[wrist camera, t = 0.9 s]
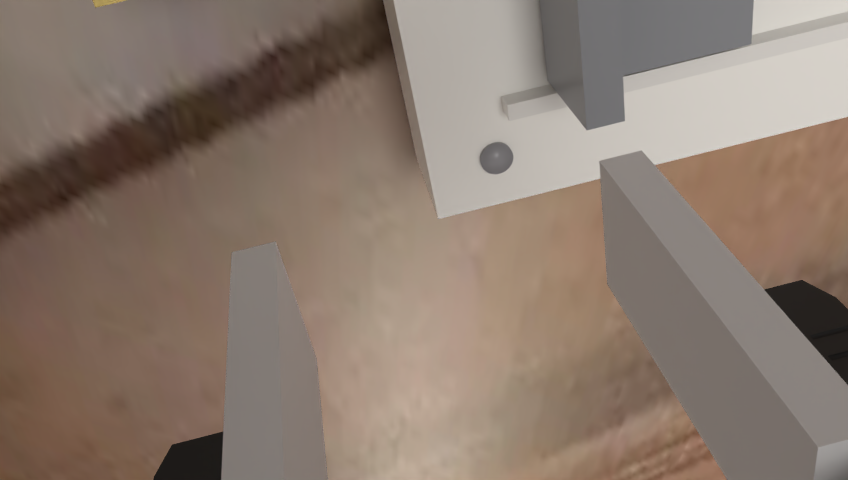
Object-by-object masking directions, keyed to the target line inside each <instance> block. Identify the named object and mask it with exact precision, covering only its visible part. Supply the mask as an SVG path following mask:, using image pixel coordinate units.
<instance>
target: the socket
mask: <svg viewBox="0 0 848 480" xmlns="http://www.w3.org/2000/svg"><path fill="white" fill-rule="evenodd" d="M383 3H384V7H385V12H386V17H387V22H388V26H389V31H390V36H391V40H392V45H393V50H394V55H395V59H396V64H397V69H398V73H399V78H400V83H401V87H402V92H403V97H404V102H405V106H406V111H407V116H408V120H409V125H410V130H411V134H412V139H413V144H414V149H415V153H416V158H417V161H418V164H419V167H420V169H421V172H422V175H423V178H424V181H425V183H426V186H427V189H428V192H429V194H430V197H431V200H432V203H433V206H434V208H435V211H436V214H437V217H438V219H441V218H445V217H449V216H453V215H457V214H461V213H465V212H469V211H473V210H477V209H481V208H485V207H489V206H493V205H497V204H501V203H505V202H509V201H513V200H517V199H521V198H525V197H529V196H533V195H537V194H541V193H545V192H549V191H553V190H557V189H561V188H565V187H569V186H573V185H577V184H581V183H585V182H589V181H593V180H597V179H600V164H599V161H601V160H605V159H609V158H613V157H617V156H621V155H625V154H629V153H633V152H637V151H641V150H642V151H643V153H644V154H645V155H646V156H647V157H648V158H649V159H650V161H651V162H652V163H653V164H654V165H657V164H661V163H665V162H669V161H673V160H677V159H681V158H685V157H689V156H693V155H697V154H701V153H705V152H709V151H713V150H717V149H721V148H725V147H729V146H733V145H737V144H741V143H745V142H749V141H753V140H757V139H761V138H765V137H769V136H773V135H777V134H781V133H785V132H789V131H793V130H797V129H801V128H805V127H809V126H813V125H817V124H821V123H825V122H829V121H833V120H837V119H841V118H845V117H848V0H754V5H753V24H752V43H751V44H750V45H746V46H742V47H738V48H734V49H730V50H726V51H722V52H718V53H713V54H709V55H705V56H701V57H697V58H693V59H689V60H685V61H681V62H677V63H673V64H669V65H664V66H660V67H656V68H652V69H648V70H644V71H640V72H636V73H632V74H628V75H624V76H623V87H624V110H625V121H623V122H619V123H615V124H611V125H607V126H603V127H599V128H595V129H591V130H586V129H585V128H584V126H583V125H582V124H581V123H580V121H579V120H578V119H577V117H576V116H575V115H574V114H573V112H572V111H571V110H570V109H569V107H568V106H567V105H566V104H565V102H564V101H563V100H562V98H561V97H560V96H559V95H558V93H557V92H556V91H555V90H554V88H553V87H552V86H551V85H550V83H549V82H548V81H547V71H546V61H545V51H544V41H543V31H542V22H541V12H540V2H539V0H383Z"/></svg>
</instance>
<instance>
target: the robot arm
mask: <svg viewBox="0 0 848 480" xmlns="http://www.w3.org/2000/svg"><path fill="white" fill-rule="evenodd" d="M599 164H600V180H601V195H602V210H603V225H604V241H605V256H606V271H607V284H608V286H609V288H610V289H611V291H612V292H613V294H614V296H615V297H616V299H617V301H618V302H619V304H620V306H621V307H622V309H623V310H624V312H625V314H626V315H627V317H628V319H629V320H630V322H631V323H632V325H633V327H634V328H635V330H636V332H637V333H638V335H639V337H640V338H641V340H642V341H643V343H644V345H645V346H646V348H647V350H648V351H649V353H650V354H651V356H652V358H653V359H654V361H655V363H656V364H657V366H658V368H659V369H660V371H661V372H662V374H663V376H664V377H665V379H666V381H667V382H668V384H669V385H670V387H671V389H672V390H673V392H674V394H675V395H676V397H677V399H678V400H679V402H680V403H681V405H682V407H683V408H684V410H685V412H686V413H687V415H688V416H689V418H690V420H691V421H692V423H693V425H694V426H695V428H696V429H697V431H698V433H699V434H700V436H701V438H702V439H703V441H704V443H705V444H706V446H707V447H708V449H709V451H710V452H711V454H712V456H713V457H714V459H715V460H716V462H717V464H718V465H719V467H720V469H721V470H722V472H723V474H724V475H725V477H726V478H727V480H848V309H847V308H846V307H845V306H844V305H843V304H842V303H841V302H840V301H839V300H838V299H837V298H836V297H834V296H832V295H830V294H828V293H826V292H824V291H822V290H820V289H818V288H816V287H815V286H813V285H811V284H809V283H807V282H805V281H803V280H800V281H796V282H792V283H788V284H784V285H780V286H776V287H773V288H769V289H765V290H764V289H763V288H762V287H761V286H760V285H759V283H758V282H757V281H756V280H755V279H754V278H753V277H752V275H751V274H750V273H749V272H748V271H747V270H746V269H745V268H744V266H743V265H742V264H741V263H740V262H739V261H738V260H737V258H736V257H735V256H734V255H733V254H732V253H731V252H730V250H729V249H728V248H727V247H726V246H725V245H724V244H723V242H722V241H721V240H720V239H719V238H718V237H717V236H716V234H715V233H714V232H713V231H712V230H711V229H710V228H709V227H708V225H707V224H706V223H705V222H704V221H703V220H702V219H701V217H700V216H699V215H698V214H697V213H696V212H695V211H694V209H693V208H692V207H691V206H690V205H689V204H688V203H687V201H686V200H685V199H684V198H683V197H682V196H681V195H680V194H679V192H678V191H677V190H676V189H675V188H674V187H673V186H672V184H671V183H670V182H669V181H668V180H667V179H666V178H665V176H664V175H663V174H662V173H661V172H660V171H659V170H658V168H657V167H656V166H655V165H654V164H653V163H652V162H651V161H650V159H649V158H648V157H647V156H646V155H645V154H644V153H643V151H642V150H641V151H637V152H633V153H629V154H625V155H621V156H617V157H613V158H609V159H605V160H601V161H599ZM154 480H328V477H327V466H326V455H325V444H324V433H323V423H322V412H321V401H320V390H319V379H318V368H317V358H316V355H315V353H314V350H313V347H312V344H311V341H310V338H309V335H308V332H307V330H306V327H305V324H304V321H303V318H302V315H301V312H300V310H299V307H298V304H297V301H296V298H295V295H294V292H293V290H292V287H291V284H290V281H289V278H288V275H287V272H286V270H285V267H284V264H283V261H282V258H281V255H280V252H279V250H278V247H277V244H276V242H271V243H267V244H263V245H259V246H255V247H251V248H247V249H243V250H239V251H235V252H232V258H231V279H230V301H229V322H228V344H227V365H226V387H225V408H224V430H223V432H220V433H216V434H212V435H208V436H204V437H200V438H197V439H193V440H189V441H185V442H181V443H177V444H173V445H172V446H171V448H170V449H169V451H168V453H167V455H166V457H165V458H164V460H163V462H162V464H161V465H160V467H159V469H158V471H157V472H156V474H155V476H154Z"/></svg>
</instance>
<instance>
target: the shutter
mask: <svg viewBox="0 0 848 480" xmlns="http://www.w3.org/2000/svg"><path fill="white" fill-rule="evenodd" d="M539 2H540V12H541V22H542V31H543V41H544V51H545V61H546V71H547V81H548V82H549V83H550V85H551V86H552V87H553V88H554V90H555V91H556V92H557V93H558V95H559V96H560V97H561V98H562V100H563V101H564V102H565V104H566V105H567V106H568V107H569V109H570V110H571V111H572V112H573V114H574V115H575V116H576V117H577V119H578V120H579V121H580V123H581V124H582V125H583V126H584V128H585V129H586V130H591V129H595V128H599V127H603V126H607V125H611V124H615V123H619V122H623V121H625V110H624V87H623V76H624V75H628V74H632V73H636V72H640V71H644V70H648V69H652V68H656V67H660V66H664V65H669V64H673V63H677V62H681V61H685V60H689V59H693V58H697V57H701V56H705V55H709V54H713V53H718V52H722V51H726V50H730V49H734V48H738V47H742V46H746V45H750V44H751V43H752V24H753V5H754V0H539Z"/></svg>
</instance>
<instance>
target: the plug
mask: <svg viewBox="0 0 848 480" xmlns="http://www.w3.org/2000/svg"><path fill="white" fill-rule="evenodd" d="M122 1H126V0H93V3H94V5H95V8H96V7H100V6H104V5H109V4H113V3H117V2H122Z"/></svg>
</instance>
